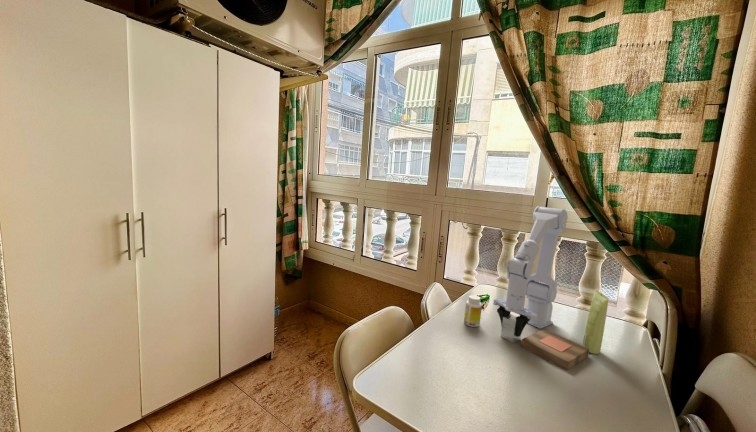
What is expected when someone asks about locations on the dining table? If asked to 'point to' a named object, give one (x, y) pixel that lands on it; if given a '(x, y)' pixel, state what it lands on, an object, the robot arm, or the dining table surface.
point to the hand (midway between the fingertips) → (511, 332)
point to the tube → (596, 323)
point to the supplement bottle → (473, 311)
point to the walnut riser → (555, 348)
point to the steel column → (509, 328)
